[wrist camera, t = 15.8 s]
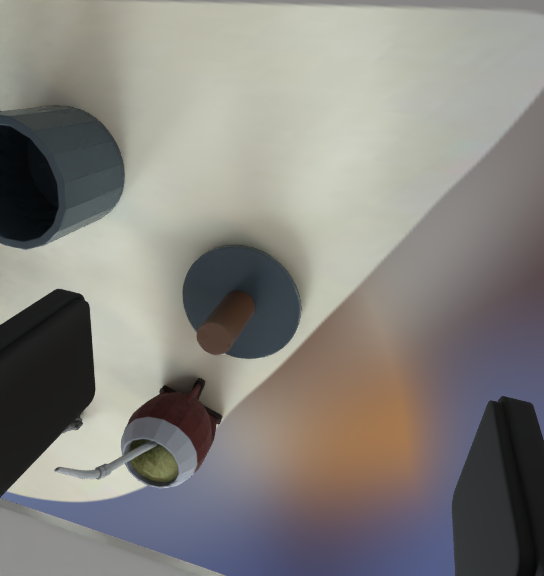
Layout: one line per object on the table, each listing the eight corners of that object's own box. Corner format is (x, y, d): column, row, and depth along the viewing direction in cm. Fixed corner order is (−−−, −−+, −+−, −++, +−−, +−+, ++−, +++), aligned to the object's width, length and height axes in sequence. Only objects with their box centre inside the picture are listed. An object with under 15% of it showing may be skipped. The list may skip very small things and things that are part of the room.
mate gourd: (213, 446, 48) (134, 590, 35) (141, 407, 49) (36, 535, 35) (239, 390, 45) (163, 527, 31) (162, 349, 45) (54, 467, 32)
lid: (189, 232, 40) (149, 260, 34) (310, 254, 38) (290, 289, 32) (186, 338, 44) (149, 380, 38) (295, 363, 42) (274, 412, 36)
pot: (19, 99, 39) (-62, 105, 33) (123, 114, 37) (60, 123, 31) (31, 210, 43) (-40, 236, 36) (126, 229, 41) (70, 259, 35)
